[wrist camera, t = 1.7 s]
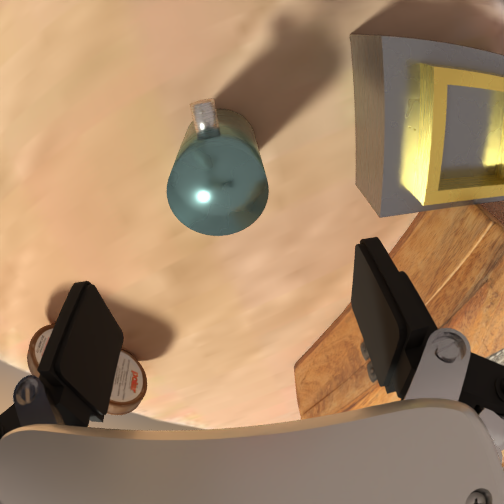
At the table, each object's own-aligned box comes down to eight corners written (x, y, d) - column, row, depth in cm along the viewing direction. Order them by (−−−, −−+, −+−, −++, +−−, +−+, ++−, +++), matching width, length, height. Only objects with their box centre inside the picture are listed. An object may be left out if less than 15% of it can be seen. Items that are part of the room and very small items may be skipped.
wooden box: (438, 164, 24) (542, 266, 13) (510, 229, 29) (576, 309, 18) (279, 363, 40) (294, 464, 29) (370, 376, 45) (394, 454, 34)
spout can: (172, 93, 19) (145, 122, 13) (245, 78, 19) (256, 99, 13) (193, 179, 23) (181, 242, 17) (259, 168, 23) (273, 227, 17)
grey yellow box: (349, 34, 17) (394, 36, 12) (504, 55, 17) (556, 73, 12) (355, 184, 25) (388, 229, 19) (492, 172, 24) (533, 207, 19)
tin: (39, 323, 33) (18, 379, 26) (41, 309, 31) (18, 368, 24) (145, 367, 38) (138, 425, 32) (153, 356, 37) (146, 417, 30)
